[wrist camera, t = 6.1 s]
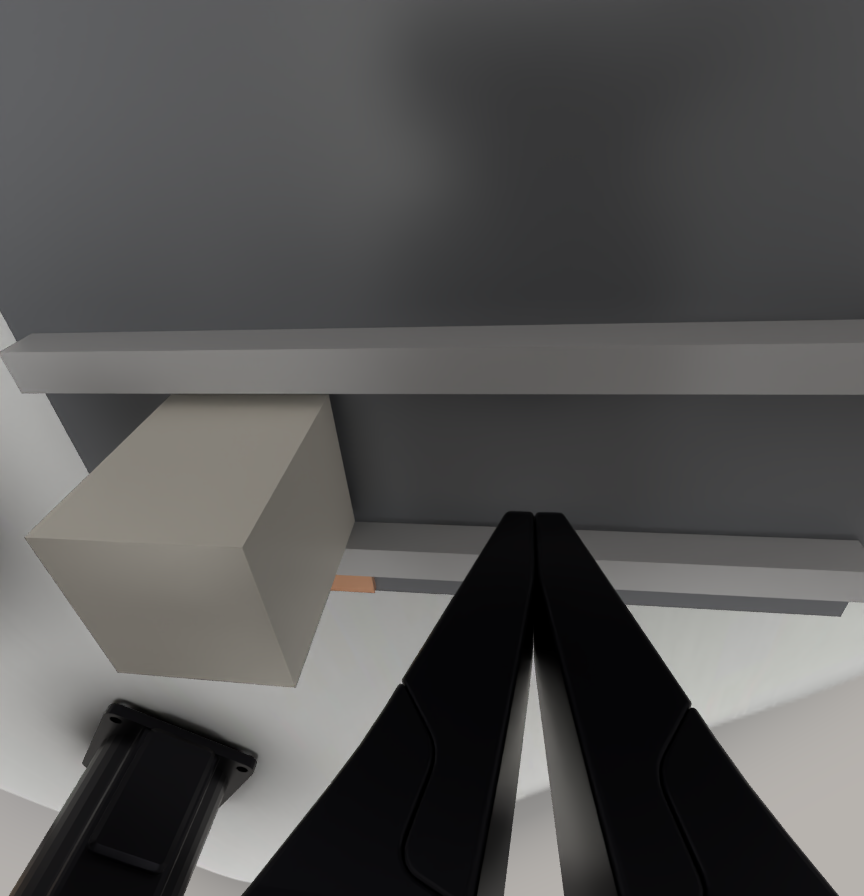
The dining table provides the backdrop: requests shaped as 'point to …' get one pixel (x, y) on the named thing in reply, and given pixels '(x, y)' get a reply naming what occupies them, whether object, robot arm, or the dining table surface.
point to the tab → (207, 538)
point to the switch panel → (469, 265)
